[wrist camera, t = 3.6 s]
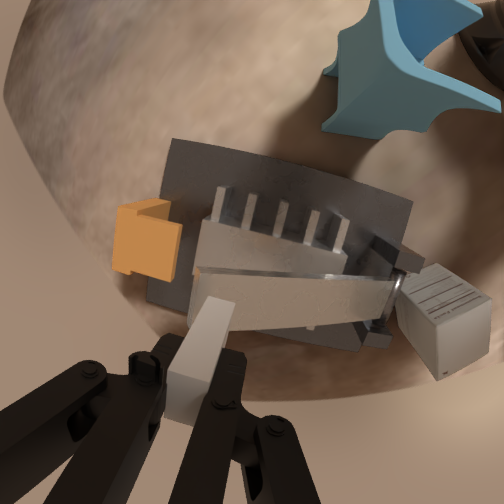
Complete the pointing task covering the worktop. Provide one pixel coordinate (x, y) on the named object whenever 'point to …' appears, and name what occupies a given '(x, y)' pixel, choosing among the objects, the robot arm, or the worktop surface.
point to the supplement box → (444, 319)
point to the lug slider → (146, 239)
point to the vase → (399, 69)
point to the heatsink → (280, 229)
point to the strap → (295, 297)
